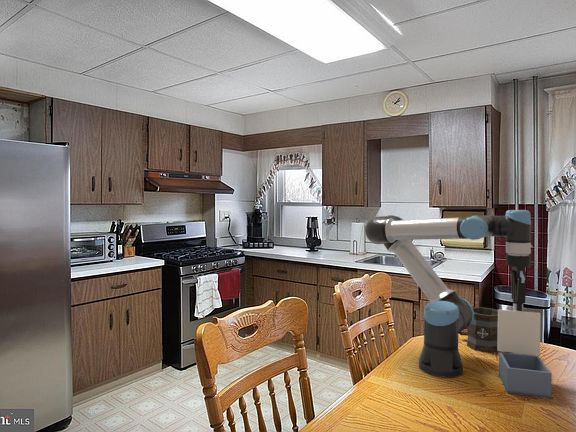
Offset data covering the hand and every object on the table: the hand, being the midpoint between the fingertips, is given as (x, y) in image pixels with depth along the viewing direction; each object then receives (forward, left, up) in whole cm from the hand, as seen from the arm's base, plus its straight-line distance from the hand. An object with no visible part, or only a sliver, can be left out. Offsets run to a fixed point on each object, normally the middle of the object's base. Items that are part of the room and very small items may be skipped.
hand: (518, 321), depth 138 cm
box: (0, -10, -19) cm, 21 cm away
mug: (-9, +26, -19) cm, 34 cm away
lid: (0, -3, -3) cm, 4 cm away
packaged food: (+5, +13, -19) cm, 24 cm away
